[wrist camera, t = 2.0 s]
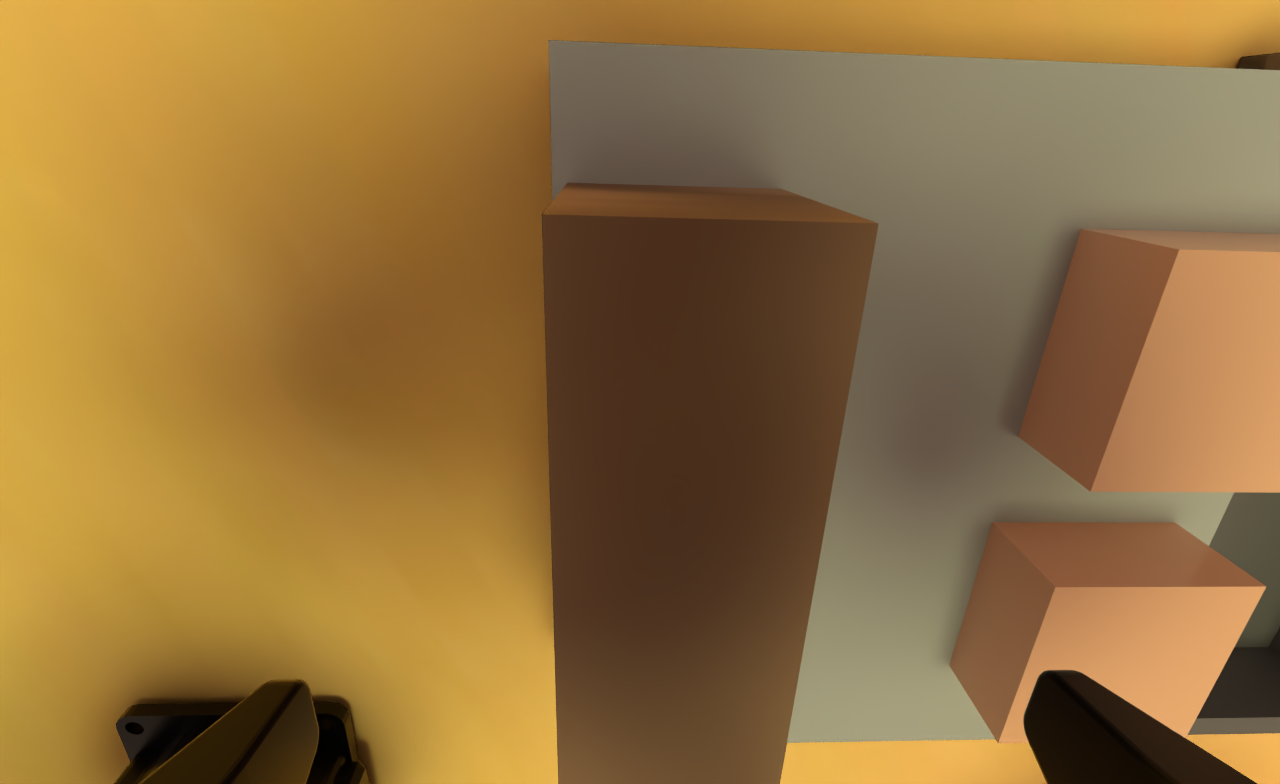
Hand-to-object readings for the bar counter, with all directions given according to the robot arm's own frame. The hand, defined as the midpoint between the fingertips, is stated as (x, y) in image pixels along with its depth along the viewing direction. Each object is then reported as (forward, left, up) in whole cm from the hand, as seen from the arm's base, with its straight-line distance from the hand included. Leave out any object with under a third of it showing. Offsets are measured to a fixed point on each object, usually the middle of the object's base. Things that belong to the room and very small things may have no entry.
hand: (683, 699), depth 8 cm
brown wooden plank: (0, 0, -5) cm, 5 cm away
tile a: (+9, -3, -5) cm, 11 cm away
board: (+5, 0, -9) cm, 10 cm away
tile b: (+9, +3, -5) cm, 11 cm away
